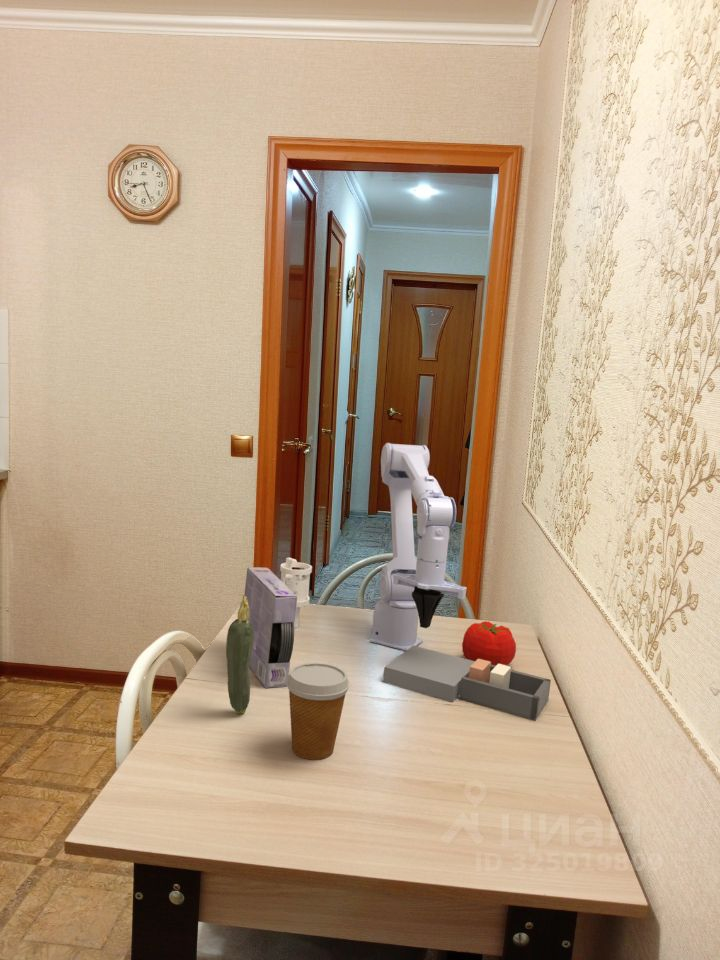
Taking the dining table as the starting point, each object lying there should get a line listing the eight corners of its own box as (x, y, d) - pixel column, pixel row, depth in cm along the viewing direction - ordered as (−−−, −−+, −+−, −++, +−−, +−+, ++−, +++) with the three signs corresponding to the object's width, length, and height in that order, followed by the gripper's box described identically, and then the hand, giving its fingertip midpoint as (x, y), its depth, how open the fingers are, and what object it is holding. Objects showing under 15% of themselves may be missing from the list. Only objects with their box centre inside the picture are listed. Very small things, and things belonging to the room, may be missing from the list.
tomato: (518, 678, 142) (523, 636, 141) (463, 673, 142) (467, 631, 141) (508, 658, 152) (512, 619, 151) (457, 653, 152) (461, 614, 151)
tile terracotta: (469, 666, 131) (482, 670, 130) (478, 658, 136) (491, 661, 135) (467, 692, 132) (480, 696, 131) (475, 683, 136) (488, 686, 135)
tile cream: (490, 672, 130) (503, 675, 128) (498, 663, 134) (511, 666, 133) (487, 698, 130) (500, 701, 129) (495, 688, 135) (508, 692, 134)
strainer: (296, 618, 166) (301, 555, 164) (313, 628, 161) (318, 563, 159) (270, 622, 162) (274, 558, 160) (287, 632, 156) (292, 566, 154)
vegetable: (243, 722, 114) (250, 602, 112) (217, 718, 115) (224, 599, 113) (252, 711, 119) (260, 595, 116) (228, 706, 120) (235, 591, 117)
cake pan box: (292, 689, 129) (299, 594, 126) (266, 692, 126) (272, 595, 124) (261, 649, 146) (267, 565, 143) (237, 651, 144) (242, 566, 141)
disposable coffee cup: (347, 738, 112) (353, 665, 111) (339, 769, 103) (346, 690, 101) (288, 730, 113) (293, 658, 112) (275, 761, 104) (280, 683, 102)
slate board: (382, 681, 135) (384, 666, 134) (411, 659, 147) (413, 645, 147) (452, 702, 128) (454, 686, 128) (477, 676, 141) (478, 662, 140)
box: (459, 698, 130) (461, 678, 130) (476, 680, 139) (478, 661, 138) (535, 720, 124) (538, 698, 123) (548, 700, 133) (550, 679, 132)
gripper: (389, 555, 138) (383, 623, 139) (460, 570, 131) (453, 640, 133) (403, 549, 144) (397, 614, 146) (472, 562, 137) (465, 630, 139)
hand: (425, 626), depth 140 cm, fingers closed
